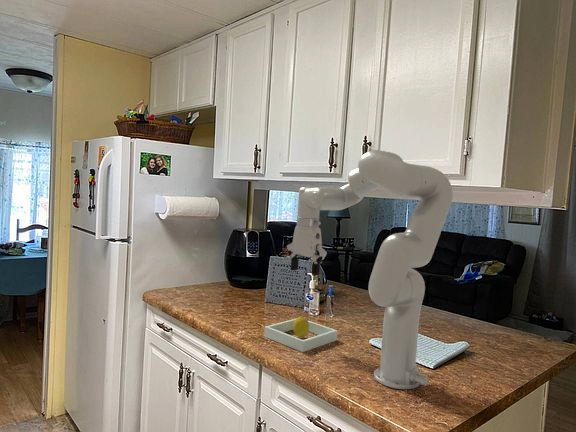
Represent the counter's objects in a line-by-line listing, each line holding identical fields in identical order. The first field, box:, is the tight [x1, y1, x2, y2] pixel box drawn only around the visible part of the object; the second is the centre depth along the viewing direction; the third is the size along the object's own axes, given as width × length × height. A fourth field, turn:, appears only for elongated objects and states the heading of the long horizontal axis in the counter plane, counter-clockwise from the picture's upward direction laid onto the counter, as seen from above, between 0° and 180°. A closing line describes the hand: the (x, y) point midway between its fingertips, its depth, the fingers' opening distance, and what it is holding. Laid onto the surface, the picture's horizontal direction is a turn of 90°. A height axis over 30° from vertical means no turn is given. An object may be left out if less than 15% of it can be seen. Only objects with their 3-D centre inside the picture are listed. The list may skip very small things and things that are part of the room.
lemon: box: [292, 315, 309, 339], centre depth 149 cm, size 6×6×8 cm
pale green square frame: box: [263, 317, 338, 353], centre depth 149 cm, size 18×18×4 cm
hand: (304, 272), depth 148 cm, fingers open, 9 cm apart
